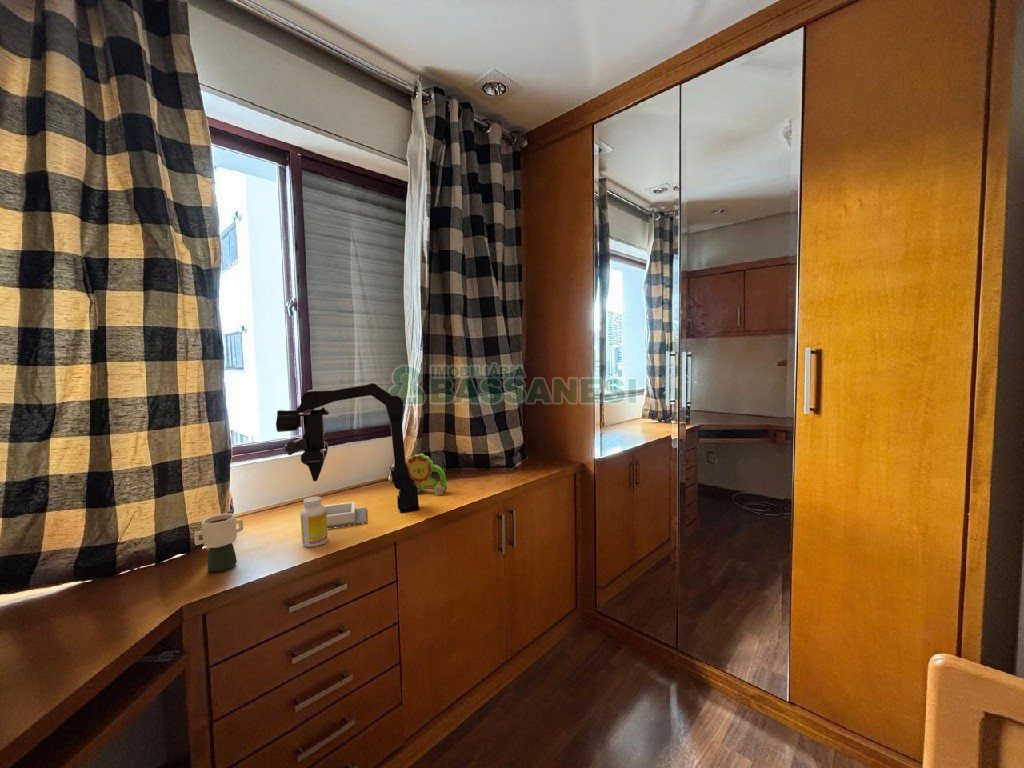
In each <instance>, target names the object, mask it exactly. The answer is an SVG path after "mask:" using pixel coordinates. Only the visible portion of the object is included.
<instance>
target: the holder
mask: <svg viewBox="0 0 1024 768" xmlns="http://www.w3.org/2000/svg"><path fill="white" fill-rule="evenodd" d="M323 506H324V507H325V508H326V521H327V528H333V529H335V528H334V527H340V528H343V527H342V526H347V527H349V526H348V525H353V526H355V525H354V524H360V525H363V524H362V523H366V521H367V507H358V508H357V507H356V502H355V501H349V502H342V503H335V504H328V505H323Z"/></svg>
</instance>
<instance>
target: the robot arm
mask: <svg viewBox="0 0 1024 768" xmlns="http://www.w3.org/2000/svg"><path fill="white" fill-rule="evenodd" d="M367 396H372V398H373V397H374V399H376V400H378V401H379V402H380V403H382V404H383V405H384V406H385V409H386V412H387V416H388V419H389V423H390V433H391V442H392V452H393V466H389V472H390V482H391V484H393V486H394V488H395V489H396V490H398V495H397V496H396V497H397V498H396V501H397V502H396V503H397V505H396V506H397V509H398V510H399V513H409V512H415V511H420V509H421V508H420V506H419V505H420V504H419V493H418V487H417V485H416V482H415V481H414V480H413V479H412V478H410V475H409V471H408V468H407V465H406V463H407V461H406V454H405V446H404V444H405V443H404V433H403V423H402V420H403V416H404V415H403V414H404V412H403V411H404V401H403V399H402V398H401V397H400V396H399V395H398V394H391V393H389V392H387V391H386V390H384V389H383V388H381V387H380V386H379V385H378V384H377V383H375V382H369V383H367V384H361V385H355V386H350V387H343V388H336V389H309V390H308V391H305V392H304V393H303V394H302V395H301V397H300V398H301V399H300V401H301V403H300V404H299V405H298V406H297V407H296V409H288V410H287V409H279V410H277V411H276V413H277V415H276V422H275V427H276V431H277V432H278V433H284V432H294V431H295V432H297V431H299V429H300V428H302V425H303V432H304V433H303V434H302V437H301V438H298V439H296V440H291V441H287V443H286V444H285V445H284V449H285V452H286V453H287V455H288V456H292V455H294V453H297V452H299V451H301V450H303V452H302V454H301V455H300V463H302V465H306V467H308V469H309V473H310V475H311V477H312V481H313V482H317V481H318V480H319V477H320V474H321V472H322V469H323V466H324V463H325V460H326V457H327V454H328V450H329V443H328V442H327V441H325V434H326V433H325V427H324V416H326V415H327V416H328V415H329V414H330V411H329V410H328V409H326V408H325V405H329V404H330V403H333V402H339V401H345V400H350V399H351V400H352V399H356V398H363V397H367ZM320 407H322V408H321V409H317V408H320ZM307 410H310V412H309V413H305V412H306V411H307Z"/></svg>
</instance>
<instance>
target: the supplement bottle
mask: <svg viewBox="0 0 1024 768" xmlns="http://www.w3.org/2000/svg"><path fill="white" fill-rule="evenodd" d="M302 503H303V508H302V509H301V511H300V512H299V513H300V526H301V529H300V530H301V540H302V541H301V542H302V545H303V546H304V547H308V548H312V547H313V548H314V546H315V547H318V545H319V546H322V545H323V544H325V543H326V542H327V541H328V540H329V538H328V537H329V535H328V529H327V521H326V508H325V507H324V506H325V505H322V496H310V497H307V498H304V499H303V502H302Z"/></svg>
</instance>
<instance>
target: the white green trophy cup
mask: <svg viewBox="0 0 1024 768" xmlns="http://www.w3.org/2000/svg"><path fill="white" fill-rule="evenodd" d="M237 525H238V528H237ZM242 531H244V521H243V519H242V518H239V519H236V515H235V514H234V513H221V514H214V515H212V516H209V517H207V518H205V519H203V520H202V521H201V530H199V531H196V532H194V534H193V539H194V545H195V546H199V545H202V544H203V546H205V547H206V548H207V549H208V554H207V564H206V565H207V571H211V572H220V571H221V572H222V571H225V570H228V569H231V568H233V567H234V566H235V565H236V564H237V562H238V560H237V555H236V551H235V548H234V544H233V542H235V541H236V539H237V537H238V536H237V535H238V533H240V532H242ZM200 535H202V539H200V537H199V536H200Z"/></svg>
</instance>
